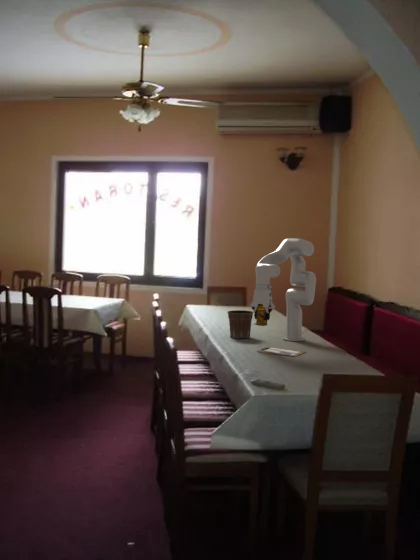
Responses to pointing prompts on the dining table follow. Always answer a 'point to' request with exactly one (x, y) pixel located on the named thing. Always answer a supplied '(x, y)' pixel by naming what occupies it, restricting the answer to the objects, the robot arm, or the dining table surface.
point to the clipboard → (281, 351)
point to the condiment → (261, 316)
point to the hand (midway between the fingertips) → (262, 319)
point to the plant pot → (240, 323)
